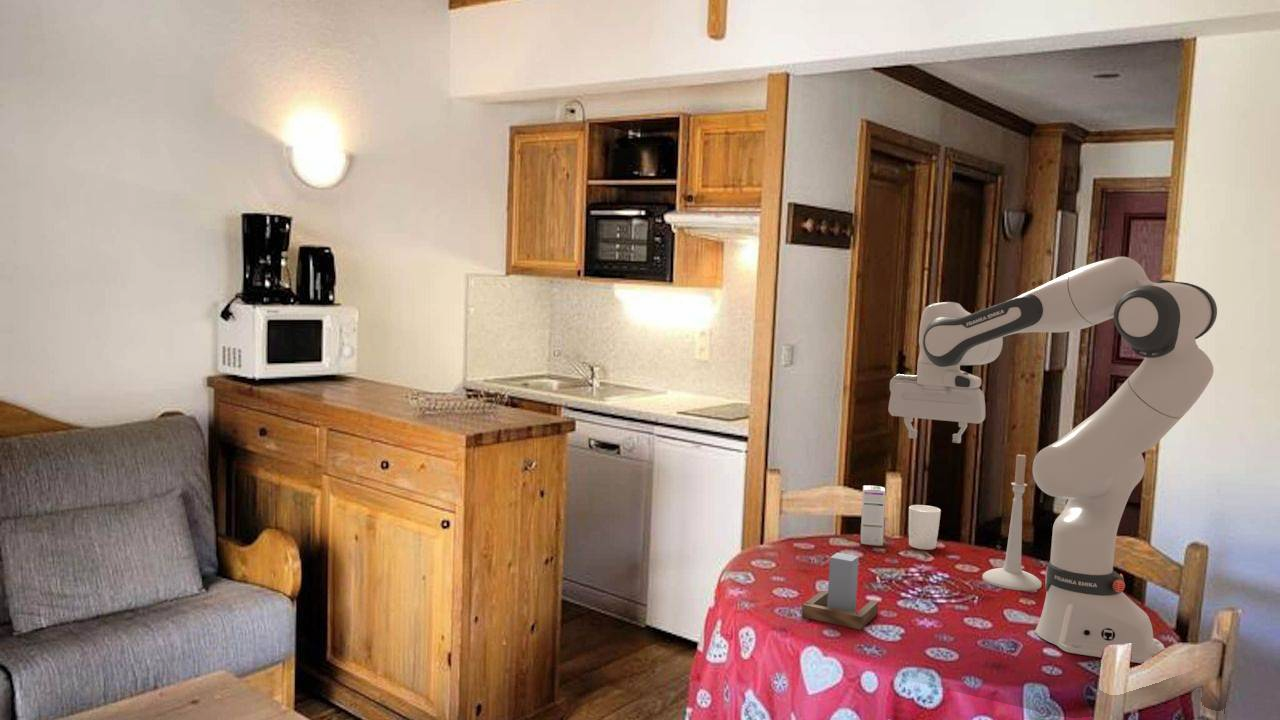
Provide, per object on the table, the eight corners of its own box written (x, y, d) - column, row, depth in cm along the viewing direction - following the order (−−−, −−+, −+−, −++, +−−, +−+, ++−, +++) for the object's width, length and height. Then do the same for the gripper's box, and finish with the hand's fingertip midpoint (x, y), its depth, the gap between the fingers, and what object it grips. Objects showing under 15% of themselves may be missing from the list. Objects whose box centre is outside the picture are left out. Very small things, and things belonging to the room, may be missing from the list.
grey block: (855, 614, 199) (858, 556, 198) (848, 620, 195) (851, 561, 194) (833, 609, 201) (837, 552, 200) (826, 615, 198) (830, 557, 197)
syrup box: (883, 546, 253) (886, 490, 252) (859, 544, 254) (863, 488, 253) (882, 540, 258) (885, 486, 257) (859, 538, 260) (862, 484, 258)
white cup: (900, 545, 255) (903, 507, 254) (917, 540, 260) (919, 503, 259) (927, 552, 249) (930, 513, 248) (944, 547, 254) (946, 509, 254)
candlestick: (980, 570, 234) (989, 446, 232) (1038, 577, 231) (1047, 451, 229) (984, 586, 222) (994, 455, 220) (1044, 593, 219) (1055, 460, 216)
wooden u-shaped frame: (877, 613, 200) (878, 601, 200) (860, 629, 190) (861, 617, 190) (821, 601, 206) (821, 590, 206) (802, 616, 196) (802, 604, 196)
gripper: (886, 374, 216) (883, 436, 216) (983, 381, 205) (979, 446, 206) (894, 372, 221) (891, 433, 222) (989, 379, 211) (985, 443, 212)
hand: (934, 440), depth 214 cm, fingers open, 8 cm apart
